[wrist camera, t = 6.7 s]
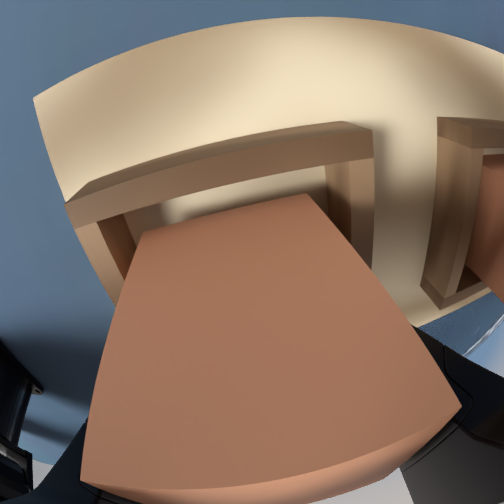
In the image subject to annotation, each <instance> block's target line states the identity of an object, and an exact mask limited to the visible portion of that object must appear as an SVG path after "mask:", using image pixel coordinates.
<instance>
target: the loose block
mask: <svg viewBox="0 0 504 504" xmlns="http://www.w3.org/2000/svg"><path fill="white" fill-rule="evenodd" d="M461 407H462V405H461V404H460V402H459V400H458V398H457V397H456V395H455V393H454V391H453V390H452V388H451V386H450V385H449V383H448V381H447V380H446V378H445V376H444V375H443V373H442V371H441V370H440V368H439V367H438V365H437V363H436V362H435V360H434V359H433V357H432V356H431V354H430V352H429V351H428V349H427V348H426V346H425V345H424V343H423V342H422V340H421V339H420V337H419V336H418V334H417V333H416V331H415V330H414V328H413V327H412V326H411V324H410V323H409V321H408V320H407V318H406V317H405V316H404V314H403V313H402V311H401V310H400V308H399V307H398V306H397V304H396V303H395V302H394V300H393V299H392V297H391V296H390V295H389V293H388V292H387V291H386V289H385V288H384V287H383V285H382V284H381V283H380V281H379V280H378V279H377V277H376V276H375V275H374V273H373V272H372V271H371V270H370V268H369V267H368V266H367V264H366V263H365V262H364V261H363V259H362V258H361V257H360V256H359V254H358V253H357V252H356V251H355V249H354V248H353V247H352V246H351V244H350V243H349V242H348V241H347V239H346V238H345V237H344V236H343V235H342V233H341V232H340V231H339V230H338V229H337V227H336V226H335V225H334V224H333V223H332V221H331V220H330V219H329V218H328V217H327V216H326V214H325V213H324V212H323V211H322V210H321V209H320V208H319V206H318V205H317V204H316V203H315V202H314V201H313V200H312V198H311V197H310V196H309V195H308V194H307V193H304V194H299V195H294V196H289V197H285V198H280V199H275V200H271V201H266V202H262V203H257V204H253V205H248V206H244V207H240V208H235V209H231V210H227V211H223V212H218V213H214V214H210V215H206V216H202V217H198V218H194V219H190V220H186V221H182V222H178V223H175V224H171V225H167V226H163V227H160V228H156V229H152V230H149V231H145V232H143V234H142V236H141V239H140V241H139V244H138V246H137V249H136V252H135V254H134V257H133V260H132V262H131V265H130V268H129V270H128V273H127V276H126V279H125V282H124V285H123V288H122V291H121V294H120V297H119V300H118V303H117V306H116V309H115V312H114V315H113V319H112V322H111V325H110V329H109V332H108V336H107V339H106V343H105V347H104V350H103V354H102V358H101V362H100V366H99V370H98V374H97V378H96V383H95V387H94V392H93V397H92V402H91V407H90V412H89V417H88V423H87V429H86V435H85V442H84V449H83V457H82V466H81V476H80V480H81V481H83V482H85V483H88V484H90V485H92V486H94V487H97V488H99V489H102V490H104V491H107V492H109V493H112V494H115V495H118V496H120V497H123V498H126V499H129V500H132V501H135V502H138V503H142V504H308V503H312V502H316V501H320V500H324V499H327V498H331V497H334V496H337V495H341V494H344V493H347V492H350V491H353V490H355V489H358V488H361V487H364V486H367V485H369V484H372V483H374V482H377V481H379V480H382V479H384V478H385V477H386V476H388V475H389V474H391V473H392V472H393V471H394V470H396V469H397V468H398V467H399V466H401V465H402V464H403V463H404V462H406V461H407V460H408V459H409V458H410V457H412V456H413V455H414V454H415V453H416V452H417V451H418V450H420V449H421V448H422V447H423V446H424V445H425V444H426V443H427V442H428V441H429V440H430V439H431V438H432V437H434V436H435V435H436V434H437V433H438V432H439V431H440V430H441V429H442V428H443V427H444V426H445V425H446V423H447V422H448V421H449V420H450V419H451V418H452V417H453V416H454V415H455V414H456V413H457V412H458V411H459V409H460V408H461Z"/></svg>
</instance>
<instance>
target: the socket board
mask: <svg viewBox="0 0 504 504" xmlns="http://www.w3.org/2000/svg"><path fill="white" fill-rule="evenodd" d="M33 100H34V105H35V109H36V113H37V117H38V120H39V124H40V128H41V131H42V135H43V138H44V142H45V145H46V148H47V151H48V154H49V157H50V160H51V163H52V166H53V169H54V172H55V175H56V177H57V180H58V183H59V185H60V188H61V191H62V193H63V196H64V198H65V201H66V203H65V204H64V207H65V209H66V212H67V214H68V216H69V218H70V221H71V223H72V225H73V227H74V230H75V232H76V234H77V236H78V238H79V240H80V242H81V244H82V246H83V248H84V250H85V252H86V254H87V256H88V258H89V260H90V262H91V264H92V266H93V268H94V270H95V272H96V274H97V275H98V277H99V279H100V281H101V283H102V284H103V286H104V288H105V290H106V291H107V293H108V295H109V297H110V298H111V300H112V302H113V303H114V305H115V307H116V306H117V303H118V300H119V297H120V294H121V291H122V288H123V285H124V282H125V279H126V276H127V273H128V270H129V268H130V265H131V262H132V260H133V257H134V254H135V252H136V249H137V246H138V244H139V241H140V239H141V236H142V234H143V232H145V231H149V230H152V229H156V228H160V227H163V226H167V225H171V224H175V223H178V222H182V221H186V220H190V219H194V218H198V217H202V216H206V215H210V214H214V213H218V212H223V211H227V210H231V209H235V208H240V207H244V206H248V205H253V204H257V203H262V202H266V201H271V200H275V199H280V198H285V197H289V196H294V195H299V194H304V193H307V194H308V195H309V196H310V197H311V198H312V200H313V201H314V202H315V203H316V204H317V205H318V206H319V208H320V209H321V210H322V211H323V212H324V213H325V214H326V216H327V217H328V218H329V219H330V220H331V221H332V223H333V224H334V225H335V226H336V227H337V229H338V230H339V231H340V232H341V233H342V235H343V236H344V237H345V238H346V239H347V241H348V242H349V243H350V244H351V246H352V247H353V248H354V249H355V251H356V252H357V253H358V254H359V256H360V257H361V258H362V259H363V261H364V262H365V263H366V264H367V266H368V267H369V268H370V270H371V271H372V272H373V273H374V275H375V276H376V277H377V279H378V280H379V281H380V283H381V284H382V285H383V287H384V288H385V289H386V291H387V292H388V293H389V295H390V296H391V297H392V299H393V300H394V302H395V303H396V304H397V306H398V307H399V308H400V310H401V311H402V313H403V314H404V316H405V317H406V318H407V320H408V321H409V323H410V324H412V325H413V326H415V327H419V326H422V325H424V324H426V323H429V322H431V321H433V320H435V319H438V318H440V317H442V316H444V315H446V314H448V313H451V312H453V311H455V310H457V309H459V308H461V307H463V306H465V305H467V304H469V303H471V302H473V301H475V300H476V299H478V298H480V297H482V296H484V295H486V294H488V293H489V292H491V291H493V292H494V293H495V294H496V296H497V297H498V298H499V299H500V300H501V301H502V302H503V303H504V54H502V53H499V52H497V51H495V50H492V49H490V48H487V47H484V46H482V45H479V44H476V43H473V42H470V41H467V40H464V39H461V38H458V37H454V36H451V35H447V34H444V33H440V32H436V31H432V30H428V29H423V28H419V27H414V26H409V25H403V24H397V23H391V22H384V21H376V20H367V19H356V18H340V17H292V18H276V19H264V20H255V21H247V22H240V23H233V24H227V25H221V26H216V27H211V28H206V29H201V30H197V31H193V32H188V33H184V34H180V35H177V36H173V37H169V38H166V39H163V40H159V41H156V42H153V43H150V44H147V45H144V46H141V47H138V48H135V49H132V50H130V51H127V52H124V53H122V54H119V55H117V56H114V57H112V58H109V59H107V60H105V61H102V62H100V63H98V64H96V65H93V66H91V67H89V68H87V69H85V70H83V71H81V72H79V73H77V74H75V75H73V76H71V77H69V78H67V79H65V80H63V81H61V82H60V83H58V84H56V85H54V86H53V87H51V88H49V89H47V90H46V91H44V92H42V93H41V94H39V95H37V96H36V97H34V98H33Z"/></svg>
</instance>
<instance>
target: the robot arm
mask: <svg viewBox="0 0 504 504" xmlns="http://www.w3.org/2000/svg"><path fill="white" fill-rule="evenodd" d="M411 326H412V327H413V328H414V330H415V331H416V333H417V334H418V336H419V337H420V339H421V340H422V342H423V343H424V345H425V346H426V348H427V349H428V351H429V352H430V354H431V356H432V357H433V359H434V360H435V362H436V363H437V365H438V367H439V368H440V370H441V371H442V373H443V375H444V376H445V378H446V380H447V381H448V383H449V385H450V386H451V388H452V390H453V391H454V393H455V395H456V397H457V398H458V400H459V402H460V404H461V405H462V407H461V408H460V409H459V411H458V412H457V413H456V414H455V415H454V416H453V417H452V418H451V419H450V420H449V421H448V422H447V423H446V425H445V426H444V427H443V428H442V429H441V430H440V431H439V432H438V433H437V434H436V435H435V436H434V437H432V438H431V439H430V440H429V441H428V442H427V443H426V444H425V445H424V446H423V447H422V448H421V449H420V450H418V451H417V452H416V453H415V454H414V455H413V456H412V457H410V458H409V459H408V460H407V461H406V462H404V463H403V464H402V465H401V466H399V468H400V470H401V472H402V475H403V478H404V480H405V483H406V485H407V487H408V490H409V492H410V495H411V497H412V500H413V502H414V504H504V378H503V377H501V376H499V375H497V374H495V373H493V372H491V371H489V370H487V369H485V368H483V367H481V366H480V365H477V364H476V363H474V362H472V361H470V360H468V359H467V358H465V357H463V356H462V355H460V354H458V353H457V352H455V351H453V350H452V349H450V348H449V347H447V346H446V345H444V346H443V344H442V343H441V342H439V341H437V340H436V339H434V338H433V337H431V336H429V335H428V334H426V333H425V332H423V331H422V330H420V329H418V328H417V327H415V326H413V325H412V324H411ZM43 392H44V389H43V388H42V387H41V386H40V385H39V384H38V383H37V382H36V381H35V380H34V379H33V378H32V377H31V376H30V375H29V374H28V373H27V372H26V371H25V370H24V369H23V368H22V367H21V366H20V364H19V363H18V362H17V361H16V360H15V359H14V358H13V357H12V356H11V354H10V353H9V352H8V351H7V350H6V349H5V348H4V346H3V345H2V344H1V343H0V451H2V452H4V453H5V454H6V456H4V455H2V454H1V453H0V504H142V503H138V502H135V501H132V500H129V499H126V498H123V497H120V496H118V495H115V494H112V493H109V492H107V491H104V490H102V489H99V488H97V487H94V486H92V485H90V484H88V483H85V482H83V481H81V480H80V476H81V466H82V457H83V449H84V442H85V435H86V429H87V423H88V418H87V419H86V421H85V422H86V423H84V424H83V425H82V427H81V428H80V430H79V431H78V433H77V434H76V436H75V437H74V439H73V440H72V442H71V443H70V445H69V446H68V448H67V449H66V450H65V452H64V453H63V455H62V456H61V457H60V459H59V460H58V461H57V462H56V464H55V465H54V466H53V468H52V469H51V470H50V472H49V473H48V474H47V476H46V477H45V478H44V480H43V481H42V482H41V483H40V484H39V486H38V487H37V488H35V489H34V490H33V470H32V453H30V452H28V451H26V450H23V449H21V448H19V447H18V442H19V437H20V433H21V429H22V425H23V421H24V418H25V414H26V410H27V407H28V404H29V400H30V397H31V394H37V395H42V394H43ZM88 417H89V416H88Z"/></svg>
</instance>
